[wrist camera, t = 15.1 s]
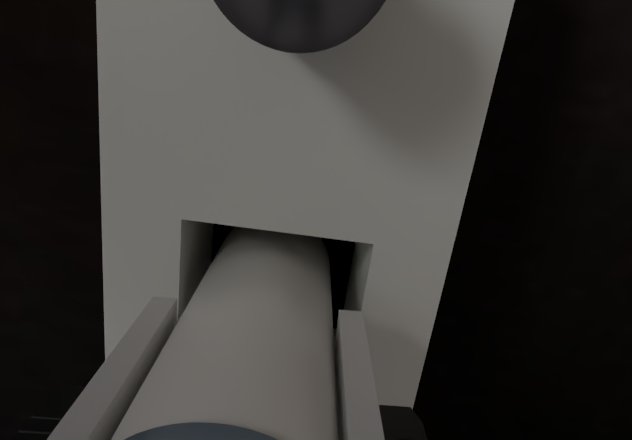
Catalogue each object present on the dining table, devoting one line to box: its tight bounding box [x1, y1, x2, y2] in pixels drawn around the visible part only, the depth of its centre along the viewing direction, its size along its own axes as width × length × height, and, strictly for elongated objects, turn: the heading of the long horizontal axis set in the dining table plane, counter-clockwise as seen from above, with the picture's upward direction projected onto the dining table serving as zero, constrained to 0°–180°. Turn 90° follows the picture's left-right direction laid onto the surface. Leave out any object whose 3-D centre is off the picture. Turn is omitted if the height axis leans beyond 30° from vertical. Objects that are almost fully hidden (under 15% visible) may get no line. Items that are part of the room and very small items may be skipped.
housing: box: [96, 0, 515, 409], centre depth 18 cm, size 12×30×5 cm, turn 172°
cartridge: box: [111, 226, 338, 440], centre depth 12 cm, size 5×5×17 cm
